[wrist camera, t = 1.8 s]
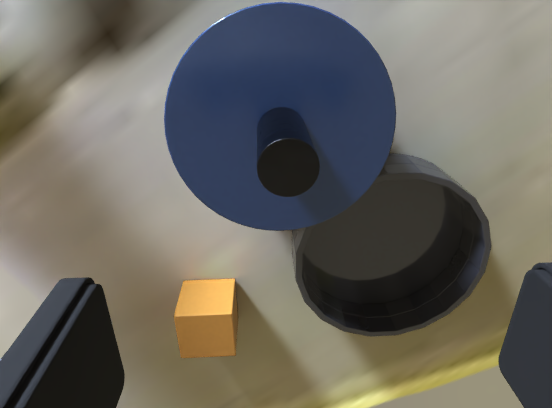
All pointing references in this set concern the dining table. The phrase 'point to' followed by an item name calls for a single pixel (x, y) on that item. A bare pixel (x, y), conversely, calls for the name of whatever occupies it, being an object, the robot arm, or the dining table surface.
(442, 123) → the dining table surface
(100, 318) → the robot arm
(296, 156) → the lid
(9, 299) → the dining table surface
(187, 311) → the block
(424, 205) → the pan
